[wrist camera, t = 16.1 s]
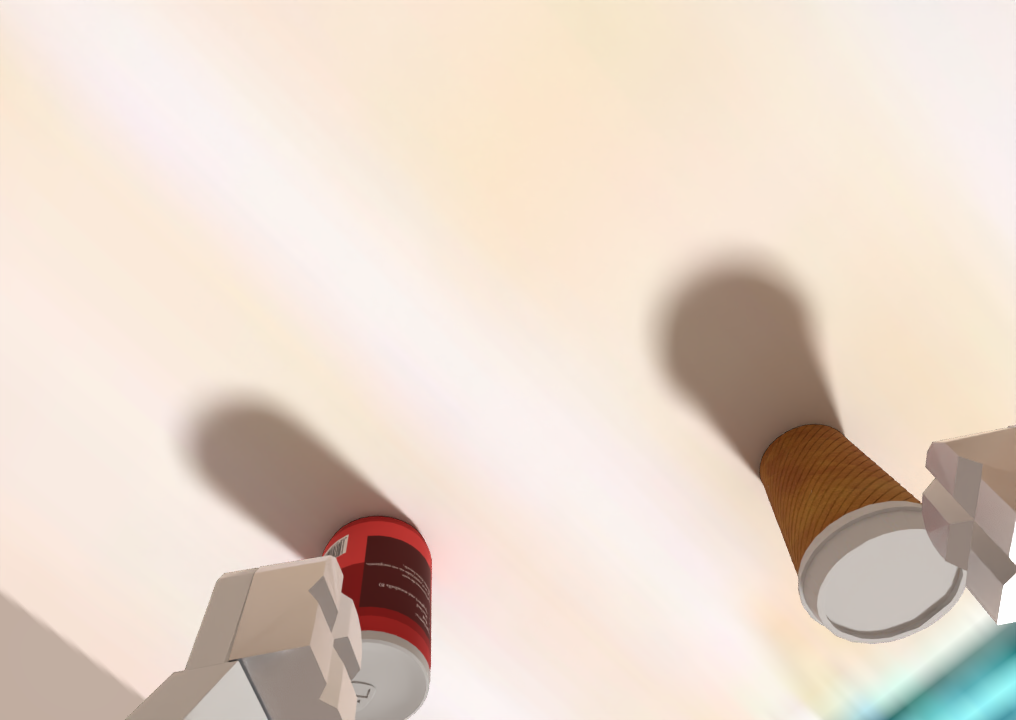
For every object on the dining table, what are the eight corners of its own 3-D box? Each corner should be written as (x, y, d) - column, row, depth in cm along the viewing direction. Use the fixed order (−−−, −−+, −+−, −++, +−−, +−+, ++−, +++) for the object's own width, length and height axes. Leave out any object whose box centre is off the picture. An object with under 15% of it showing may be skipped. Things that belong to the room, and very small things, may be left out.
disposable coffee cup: (755, 534, 56) (828, 670, 46) (719, 436, 52) (791, 561, 41) (883, 486, 55) (988, 614, 45) (858, 381, 51) (967, 496, 40)
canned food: (324, 599, 56) (300, 735, 47) (319, 511, 52) (292, 639, 43) (431, 598, 57) (429, 732, 47) (433, 512, 53) (431, 638, 44)
